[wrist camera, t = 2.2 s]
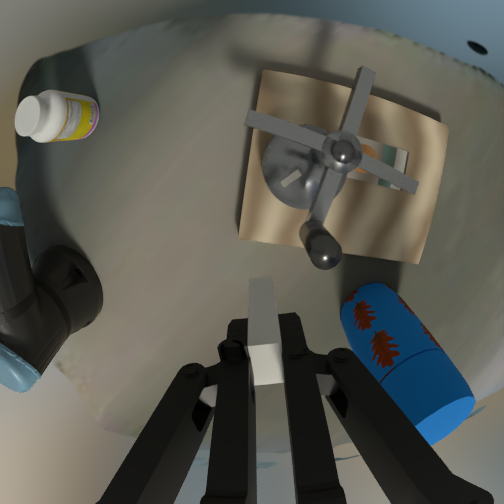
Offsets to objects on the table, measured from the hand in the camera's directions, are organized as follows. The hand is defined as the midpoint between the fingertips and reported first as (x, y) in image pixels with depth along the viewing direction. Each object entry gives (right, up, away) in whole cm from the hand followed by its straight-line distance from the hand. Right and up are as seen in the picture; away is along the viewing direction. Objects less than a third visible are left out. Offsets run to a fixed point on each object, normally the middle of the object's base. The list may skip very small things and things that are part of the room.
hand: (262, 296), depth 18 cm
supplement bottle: (-25, +22, +13) cm, 36 cm away
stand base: (+13, +14, +17) cm, 25 cm away
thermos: (+19, -7, +25) cm, 32 cm away
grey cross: (+8, +15, +13) cm, 22 cm away
